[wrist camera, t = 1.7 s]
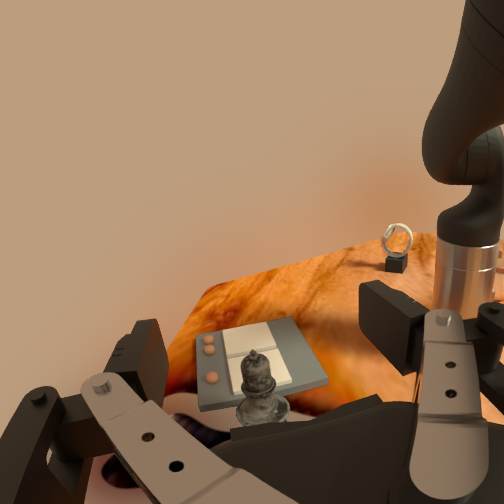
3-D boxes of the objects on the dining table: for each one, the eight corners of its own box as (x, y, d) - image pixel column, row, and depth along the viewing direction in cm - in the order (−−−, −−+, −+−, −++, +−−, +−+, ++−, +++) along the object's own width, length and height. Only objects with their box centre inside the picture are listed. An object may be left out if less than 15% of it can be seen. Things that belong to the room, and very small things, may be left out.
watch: (384, 262, 74) (383, 220, 71) (413, 266, 69) (414, 222, 66) (377, 270, 70) (377, 225, 67) (409, 274, 65) (410, 228, 62)
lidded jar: (501, 311, 42) (510, 264, 40) (463, 292, 52) (468, 249, 50) (523, 294, 45) (531, 251, 42) (488, 279, 55) (493, 239, 52)
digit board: (291, 322, 55) (290, 311, 54) (328, 384, 38) (328, 371, 37) (197, 340, 53) (194, 330, 52) (200, 412, 36) (196, 400, 35)
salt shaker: (233, 423, 33) (213, 344, 30) (276, 405, 36) (266, 326, 32) (253, 455, 28) (235, 377, 25) (301, 434, 30) (295, 353, 27)
